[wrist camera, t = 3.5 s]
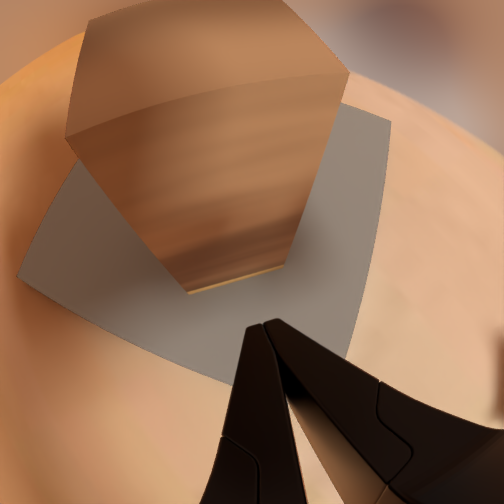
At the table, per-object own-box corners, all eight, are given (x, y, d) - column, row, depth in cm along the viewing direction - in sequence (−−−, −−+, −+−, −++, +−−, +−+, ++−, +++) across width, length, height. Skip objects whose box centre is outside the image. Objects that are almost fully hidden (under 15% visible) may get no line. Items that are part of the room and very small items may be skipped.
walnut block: (282, 267, 16) (350, 72, 5) (188, 294, 15) (64, 137, 4) (254, 187, 18) (262, -18, 6) (169, 210, 17) (89, 20, 6)
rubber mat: (322, 411, 14) (326, 414, 13) (23, 279, 16) (16, 276, 15) (387, 128, 21) (391, 121, 20) (155, 70, 23) (153, 64, 22)
